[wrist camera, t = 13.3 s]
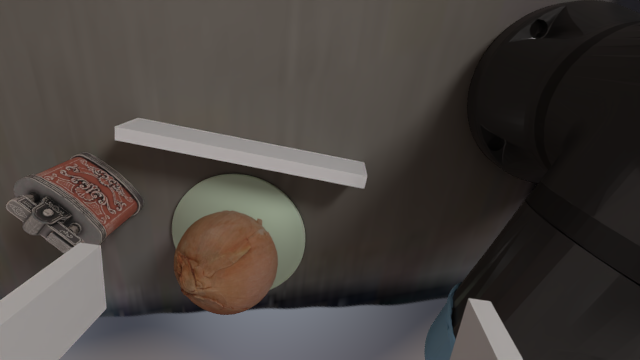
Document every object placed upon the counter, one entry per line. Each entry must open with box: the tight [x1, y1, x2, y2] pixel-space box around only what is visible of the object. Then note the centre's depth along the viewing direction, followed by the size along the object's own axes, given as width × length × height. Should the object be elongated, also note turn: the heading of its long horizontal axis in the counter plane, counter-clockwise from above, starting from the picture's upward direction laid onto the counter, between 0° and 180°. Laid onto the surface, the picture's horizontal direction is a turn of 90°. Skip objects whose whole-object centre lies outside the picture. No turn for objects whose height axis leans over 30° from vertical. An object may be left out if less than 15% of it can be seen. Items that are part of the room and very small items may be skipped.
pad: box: [172, 174, 306, 289], centre depth 39 cm, size 14×14×1 cm
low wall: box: [115, 118, 367, 189], centre depth 34 cm, size 22×1×4 cm, turn 79°
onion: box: [174, 210, 278, 315], centre depth 35 cm, size 10×9×10 cm
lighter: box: [6, 152, 144, 254], centre depth 34 cm, size 8×3×10 cm, turn 45°
